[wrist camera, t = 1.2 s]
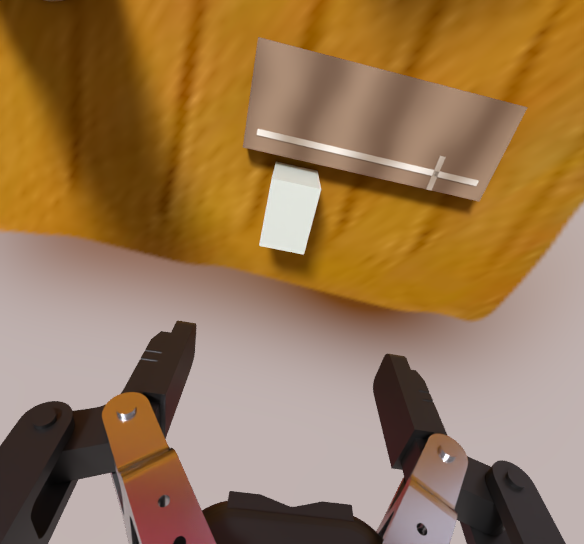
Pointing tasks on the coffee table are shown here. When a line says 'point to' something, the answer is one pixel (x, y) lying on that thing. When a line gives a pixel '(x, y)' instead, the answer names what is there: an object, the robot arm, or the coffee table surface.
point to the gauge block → (290, 208)
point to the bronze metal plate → (375, 121)
